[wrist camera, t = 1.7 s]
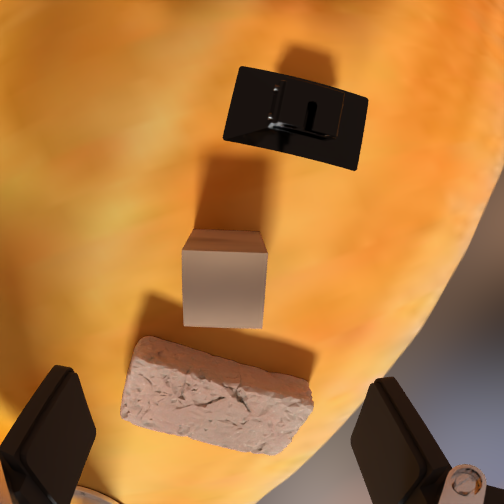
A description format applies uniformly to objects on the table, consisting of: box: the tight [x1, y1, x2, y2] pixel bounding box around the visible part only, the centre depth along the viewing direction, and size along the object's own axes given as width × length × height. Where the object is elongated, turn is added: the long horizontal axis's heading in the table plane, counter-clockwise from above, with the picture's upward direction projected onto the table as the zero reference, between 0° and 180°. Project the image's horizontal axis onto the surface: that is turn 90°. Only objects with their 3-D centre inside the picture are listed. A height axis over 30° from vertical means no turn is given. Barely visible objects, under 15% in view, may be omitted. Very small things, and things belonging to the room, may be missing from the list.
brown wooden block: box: [182, 229, 268, 329], centre depth 22 cm, size 5×5×6 cm
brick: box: [120, 336, 314, 455], centre depth 26 cm, size 16×8×5 cm, turn 69°
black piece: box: [223, 66, 368, 171], centre depth 20 cm, size 13×8×5 cm, turn 79°
